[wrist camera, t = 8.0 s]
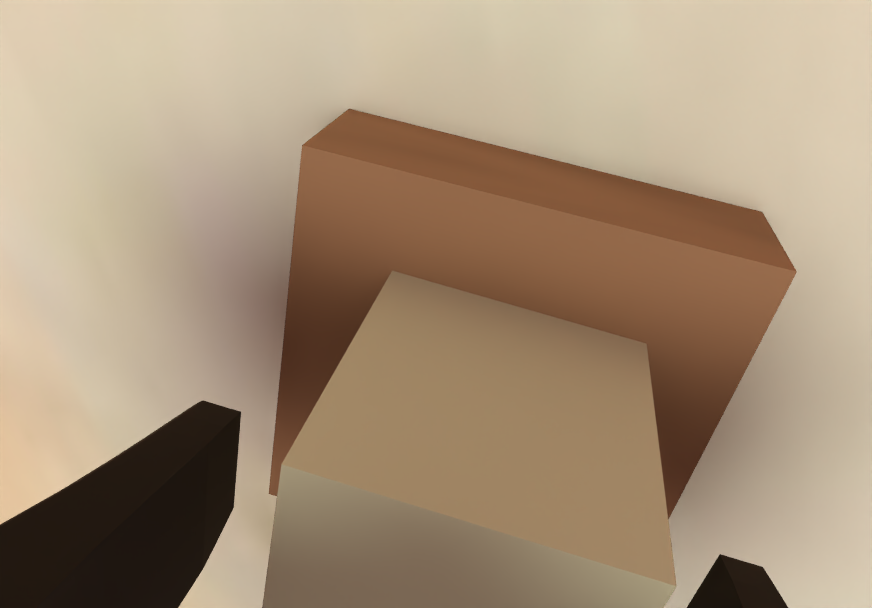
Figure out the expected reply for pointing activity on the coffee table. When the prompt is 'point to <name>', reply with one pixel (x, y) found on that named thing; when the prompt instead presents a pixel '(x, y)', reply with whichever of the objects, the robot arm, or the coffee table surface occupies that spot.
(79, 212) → the coffee table surface
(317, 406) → the beige block
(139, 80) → the coffee table surface
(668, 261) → the walnut base
